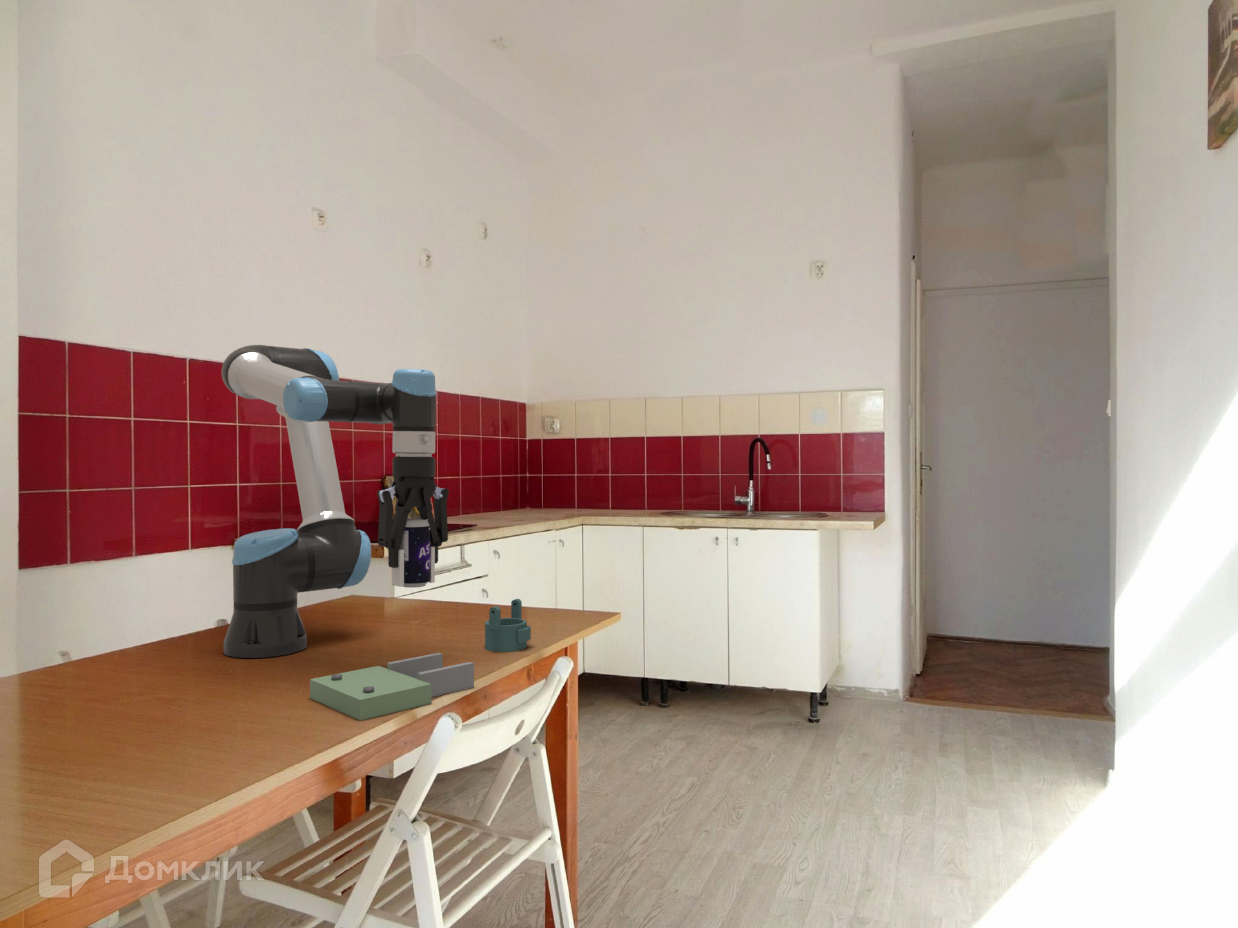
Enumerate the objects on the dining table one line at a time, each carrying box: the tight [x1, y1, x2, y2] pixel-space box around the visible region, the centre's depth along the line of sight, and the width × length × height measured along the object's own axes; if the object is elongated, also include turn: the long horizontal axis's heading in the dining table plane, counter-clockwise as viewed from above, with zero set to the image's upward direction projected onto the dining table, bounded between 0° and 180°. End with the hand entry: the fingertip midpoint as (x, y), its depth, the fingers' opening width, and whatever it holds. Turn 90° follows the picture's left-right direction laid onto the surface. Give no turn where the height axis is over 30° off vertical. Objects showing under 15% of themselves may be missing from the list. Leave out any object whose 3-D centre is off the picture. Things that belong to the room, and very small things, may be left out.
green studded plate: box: [309, 652, 475, 722], centre depth 136 cm, size 16×22×4 cm
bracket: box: [484, 598, 532, 653], centre depth 170 cm, size 9×9×9 cm
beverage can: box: [399, 517, 430, 589], centre depth 153 cm, size 6×6×12 cm
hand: (413, 583), depth 153 cm, fingers closed on beverage can, 6 cm apart
